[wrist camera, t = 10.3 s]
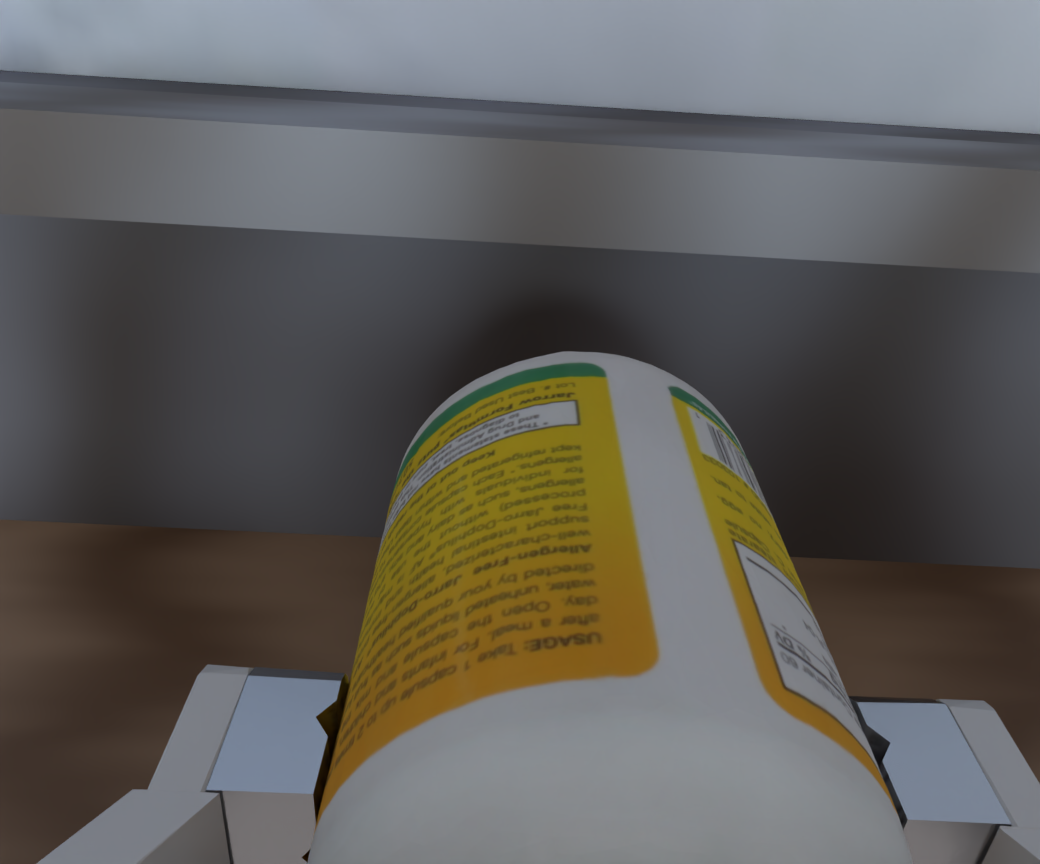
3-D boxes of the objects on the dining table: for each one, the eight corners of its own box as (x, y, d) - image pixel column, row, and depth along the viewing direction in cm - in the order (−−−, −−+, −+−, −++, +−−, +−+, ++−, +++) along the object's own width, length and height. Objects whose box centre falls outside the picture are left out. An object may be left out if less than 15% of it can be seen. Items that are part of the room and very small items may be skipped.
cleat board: (1264, 148, 16) (2762, 600, 5) (1053, 613, 21) (1591, 1310, 10) (-144, 61, 15) (-1682, 384, 5) (-1, 565, 20) (-563, 1258, 10)
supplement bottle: (805, 396, 13) (1334, 1252, 5) (666, 662, 15) (845, 1529, 7) (443, 292, 12) (290, 1097, 4) (358, 590, 15) (152, 1472, 6)
